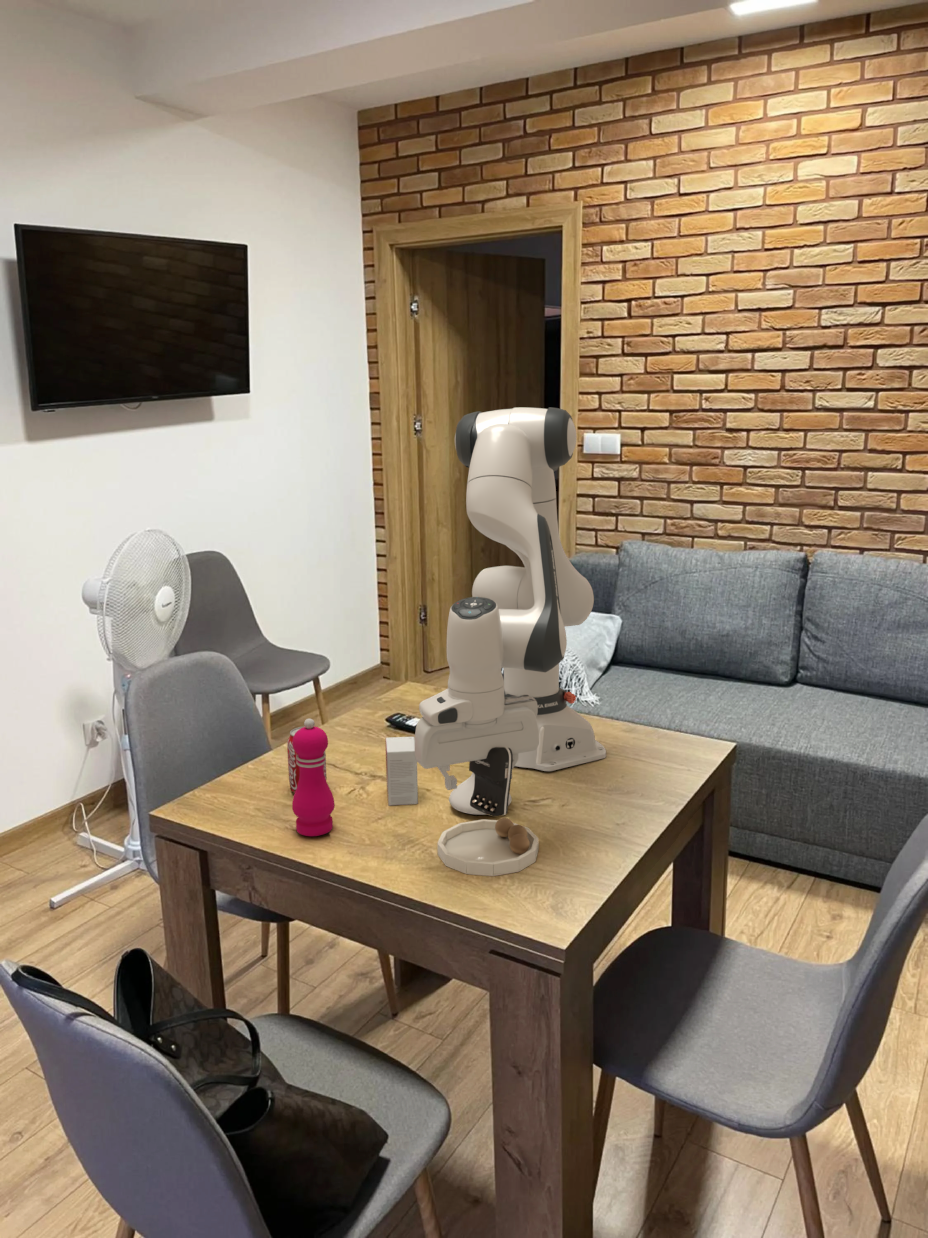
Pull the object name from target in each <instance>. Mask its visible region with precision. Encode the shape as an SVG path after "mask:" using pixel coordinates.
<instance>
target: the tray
mask: <svg viewBox="0 0 928 1238" xmlns="http://www.w3.org/2000/svg"><path fill="white" fill-rule="evenodd" d="M498 820H499V819H497V820H496V819H487V818H486V819H478V820H472V821H466V822H459V823H457V824H455V825H453V826H451V827H449V828H447V829H445V830H444V831H442V832H441V835H440V837H439V839H438V840H437V843H436V844H437V845H436V846H437V847H436V848H437V856H438V857H439V859H440V860H441V861H442V863H443V864H444V865H445V866H446V867H447V868H450V869H453V870H455V871H456V872H457V871H458V872H460V873H463V874H466V875H474V876H487V877H488V876H489V877H495V876H503V875H509V874H512V873H518V872H521V871H523V870H524V869H526V868H527V867H529V866H531V865H532V864H535V863H536V861H537V858H538V853H539V839H540V838H539V837H538V836H537V835H536V834H535V833H534V832H533V831H532V830H531V829H530V828H529V827H527V826H525V825H522V826H523V827H524V828H525V829H526V831H527V838H528V839H529V842H530V846H529V849H528V850H527V851H526V852H525V853H523V854H517V853H515V852H513V851H512V849H511V847H510V840H509V838H508V837H501V836H499V835H498V834H497V832H496V830H495V825H496V822H497V821H498ZM513 824H514V825H519V824H518V823H515V822H513Z"/></svg>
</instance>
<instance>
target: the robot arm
mask: <svg viewBox="0 0 928 1238" xmlns="http://www.w3.org/2000/svg"><path fill="white" fill-rule="evenodd" d="M576 445H577V429H576V426H575V422H574V421H573V417H572V416H571V414H570V413H569V412H568V411H567V410H566V409H562V408H558V407H552V406H551V407H548V408H544V407H543V408H541V407H528V406H527V407H519V406H518V407H513V408H503V409H495V410H489V411H484V412H482V411H480V410H479V411H474V412H471V413H467V414H464V415H463V416H462V417H461V419H460V420H459V421H458V423H457V425H456V428H455V435H454V446H455V451H456V454H457V458H458V460H459V462H461V464H462V465H463V466H465V467H466V468H468V476H467V482H466V494H465V495H466V499H465V500H466V501H465V505H466V508H465V509H466V514H467V517H468V519H469V521H470V522H471V524H472V526H473V527H474V528H475V529H476V530H477V531H478V532H479V533H480V534H482V535H484V536H485V537H487V538H489V539H490V540H492V541H494V542H497V543H500V544H502V545H504V546H505V547H507V548H508V549H510V550H511V551H513V553H515V554H516V555H517V556H518V557H519V559H520V560H521V561H522V564H523V566H524V567H523V566H514V565H500V566H499V565H498V566H492V567H487V568H484V569H482V570H480V571H479V573H478V574H477V575H476V577H475V579H474V581H473V583H472V584H473V585H472V589H471V595H472V596H471V597H465V598H462V599H460V600H458V601H455V602H454V603H453V604H452V605H451V606H450V608H449V612H448V613H449V614H448V619H447V628H446V629H447V630H446V660H447V663H448V667H449V676H448V679H447V680H448V681H447V688H446V689H444V690H443V691H440V692H438V693H437V694H434V695H432V696H430V697H427V698H426V699H424V700H422V701H421V702H419V704H418V709H419V713H420V715H421V716H422V717H420V718H419V720H418V721H417V723H416V727H415V733H414V737H415V758H416V760H417V764H419V765H420V767H422V768H423V769H426V770H427V769H433V768H437V769H438V770H439V771H440V773H441V774H442V776H443V778H444V786H445V788H446V790H447V791H451V790H452V791H453V790H454V789H457V786H458V785H457V784H458V779H457V778H456V777H455V776H454V774H452V775H449V774H448V772H450V771H451V769H450V768H451V767H450V766H452V765H457V764H463V763H468V762H469V763H470V761H475V760H481V759H486V758H487V755H488V752H489V750H490V749H492V748H495V747H507V748H510V749H511V751H512V754H513V763H512V770H514V768H515V767H519V768H525V769H526V768H528V769H535V770H539V771H542V772H543V771H544V772H553V771H556V770H561V769H565V768H568V767H573V766H577V765H582V764H585V763H590V762H595V761H598V760H602V759H605V758H606V757H607V749H606V748H605V746H604V745H603V744H602V743H600V742H599V741H598V740H596V737H595V731H594V728H593V725H592V724H591V722H590V721H588V720H587V719H586V718H585V717H584V716H582V715H580V714H579V713H578V712H577V711H576V710H574V709H573V708H572V707H570V706H569V705H568V704H574V703H575V702H576V701H577V695H575V694H574V693H572V692H571V691H566V690H564V689H563V688H561V687H559V686H560V684H559V683H560V682H559V681H560V678H559V677H560V673H559V672H560V663H561V662H562V661H563V660H564V659H565V654H566V652H567V644H568V643H567V641H568V640H567V633H566V628H565V627H573V626H575V627H576V626H580V625H582V624H583V623H584V622H585V621H586V620H587V619H588V618H589V616H590V614H591V613H592V610H593V607H594V601H595V598H594V591H593V588H592V585H591V584H590V582H589V581H588V579H587V578H586V577H585V576H583V575H582V574H581V573H580V572H579V571H578V570H577V569H576V568H575V566H573V564H572V562H571V561H570V559H569V557H568V556H567V554H566V552H565V549H564V548H563V547H564V546H563V544H562V541H561V538H560V531H559V521H558V509H557V507H558V506H557V491H556V490H557V489H556V480H555V479H556V478H555V473H554V472H555V471H558V470H559V467H562V466H564V465H566V464H567V463H568V462H569V461H570V460H571V459H572V458H573V455H574V451H575V449H576ZM502 669H503V672H502ZM567 703H568V704H567ZM512 779H513V774H512V775H511V780H512Z"/></svg>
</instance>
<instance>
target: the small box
mask: <svg viewBox="0 0 928 1238" xmlns="http://www.w3.org/2000/svg"><path fill="white" fill-rule="evenodd" d="M384 740H385V771H386V772H385V774H386V792H387V794H386V795H387V805H388V806H390V807H391V806H402V805H417V804H419V796H418V795H419V792H418V790H419V789H418V787H419V786H418V762H417V760H416V758H415V736H395V737H394V736H393V737H385V739H384Z"/></svg>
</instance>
